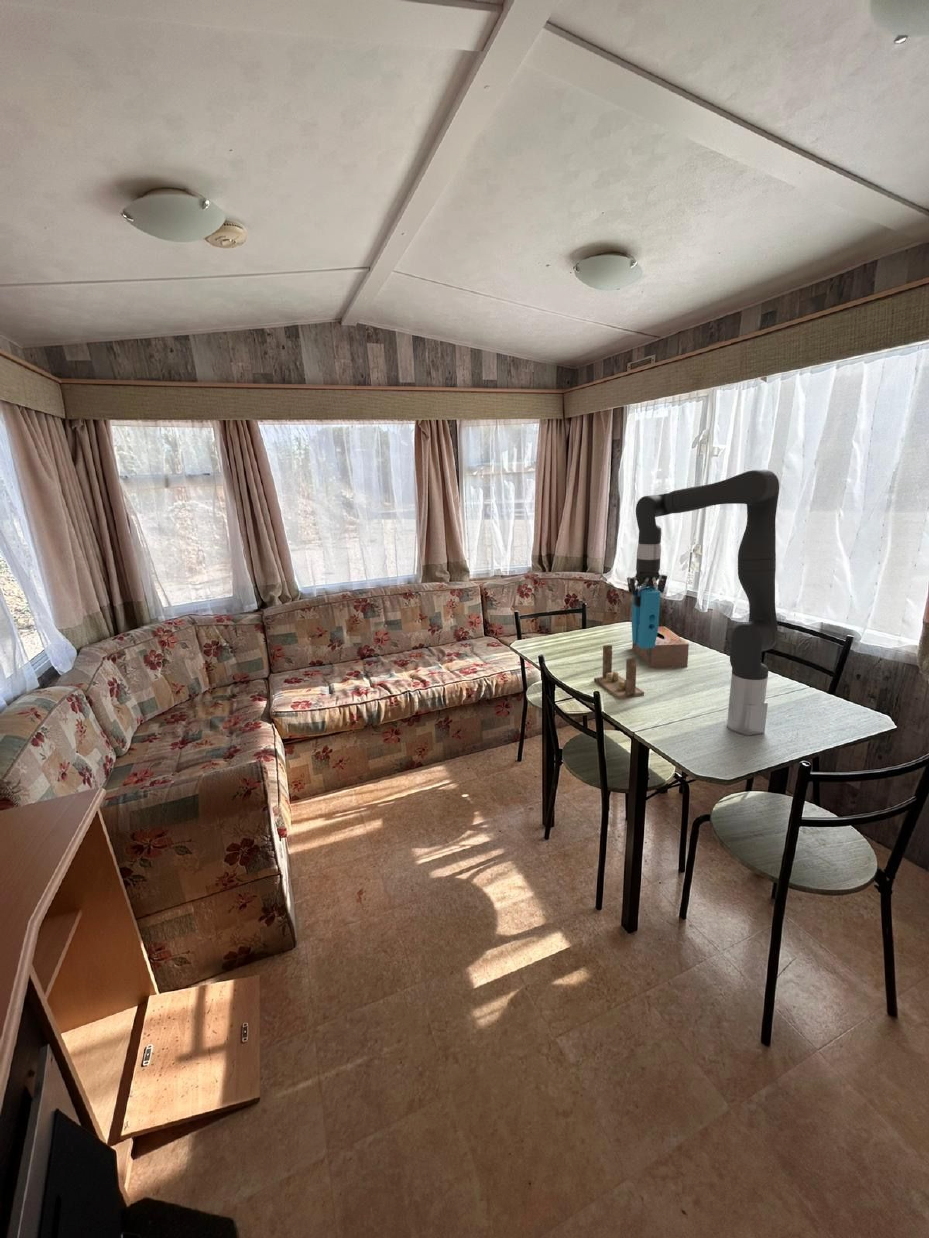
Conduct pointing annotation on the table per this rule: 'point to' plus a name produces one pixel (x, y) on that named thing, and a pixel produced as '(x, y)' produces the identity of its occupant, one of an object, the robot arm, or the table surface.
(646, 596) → the block
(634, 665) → the peg stand
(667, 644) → the tissue box cover
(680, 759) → the table surface
